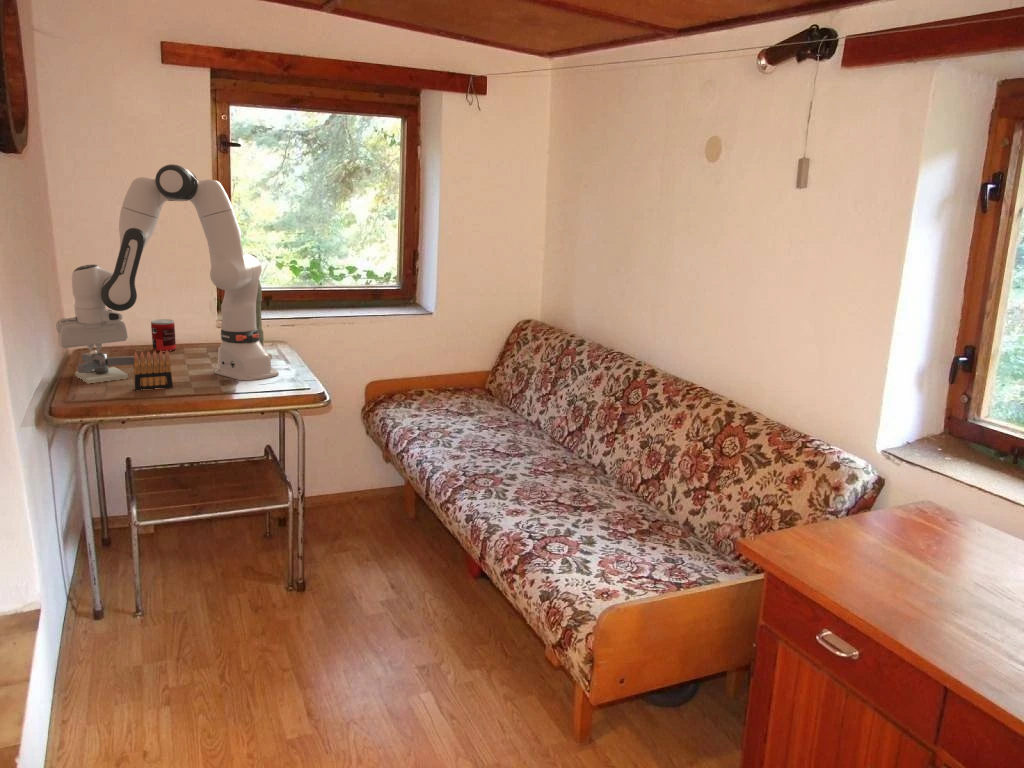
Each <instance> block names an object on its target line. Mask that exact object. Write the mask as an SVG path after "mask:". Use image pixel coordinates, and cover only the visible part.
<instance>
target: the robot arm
mask: <svg viewBox="0 0 1024 768" xmlns="http://www.w3.org/2000/svg"><path fill="white" fill-rule="evenodd" d="M187 201H189V202H191V203H192V205H193V206H194V208H195V210H196V212H197V216H198V218H199V222H200V224H201V227H202V230H203V232H204V236H205V238H206V241H207V246H208V253H209V260H210V264H211V265H210V273H209V277H210V280H211V282H212V284H213V285H214V286H215V287H216V288H218V289H220V290H223V291H224V296H223V300H222V303H221V306H220V310H221V312H220V313H221V330H220V340H221V344H220V346H218V348H217V368H215V369H214V370H213V372H214V374H217V375H220V376H224V377H228V378H230V379H231V378H232V379H235V380H237V381H238V380H239V381H253V380H262V379H267V378H268V379H269V378H273V377H275V376H278V375H280V373H279V371H278V370H277V369H276V368H274V367H273V366H272V362H271V361H272V359H273V358H272V353H271V352H269V353H268V352H267V350H266V348H265V346H264V345H263V346H262V344H261V343H260V341H259V340H260V336H259V335H260V334H259V332H258V329H257V328H256V299H257V292H258V284H259V280H260V276H261V274H262V270H263V269H262V265H261V262H260V260H259V259H258V257H257V256H256V257H257V258H256V257H254V256H255V255H254V256H252V255H253V254H252V255H250V254H249V253H245V252H243V249H242V248H243V247H242V246H243V245H242V230H241V228H240V225H239V223H238V219H237V217H236V213H235V211H234V208H233V205H232V202H231V200H230V197H229V196H228V194H227V191H226V190H225V188H224V186H223V185H222V184H221V182H220V181H218V180H215V179H204V180H198V178H197V177H196V175H195V174H194V173H193V172H192V171H191V170H189V169H188V168H186V167H184V166H183V165H177V164H167V165H164V166H162V167H160V169H158V170H157V172H156V174H155V178H149V177H146V176H145V177H144V176H143V177H137V178H135V179H133V180H132V181H131V183H130V185H129V188H128V189H127V191H126V194H125V196H124V199H123V201H122V205H121V209H120V213H119V221H118V232H119V251H118V256H117V259H116V261H115V262H116V263H115V267H114V270H113V272H112V271H109V270H107V269H105V268H102V267H101V266H99V265H98V264H85V265H82V266H81V265H80V266H79V267H76V268H75V269H74V270H73V271H72V275H71V288H72V296H73V298H74V315H75V317H69V318H61V319H60V320H58V321H57V322H56V325H55V327H56V331H57V333H58V334H57V342H58V345H59V346H60V348H62V349H68V348H69V349H70V348H77V347H85V346H86V347H87V349H88V350H89V352H90V351H91V350H93V349H94V348H95V347H96V348H95V350H96V351H97V353H101V349H102V348H103V344H112V343H118V342H125V341H127V339H128V335H129V334H128V330H127V326H126V323H125V322H124V320H122V319H123V314H122V313H121V312H123V311H127V310H129V309H131V308H132V307H133V306H134V305H135V304H136V302H137V299H138V298H137V296H138V295H137V294H138V293H137V288H136V277H137V273H138V269H139V264H140V261H141V258H142V256H143V255H142V254H143V252H144V250H145V248H146V246H147V244H148V243H149V241H150V240H151V237H152V236H153V234H154V231H155V230H156V227H157V224H158V222H159V218H160V214H161V212H162V211H161V210H162V208H163V205H164V204H165V203H166V202H187ZM106 308H107V309H106Z"/></svg>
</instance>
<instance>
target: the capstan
mask: <svg viewBox="0 0 1024 768" xmlns="http://www.w3.org/2000/svg"><path fill="white" fill-rule="evenodd" d="M92 349H93V350H91V351H90V350H89V352H83V353H81V358H82V363H80V364H78V365H77V372H78V373H85V372H88V371H91V370H94V372H95V373H97V374H103V373H108V368H109V367H114V366H128V365H129V366H130V365H133V366H134V355H130V356H129V355H126V356H108V353H107V352H99V353H97V351H96V348H95V349H94V348H92Z"/></svg>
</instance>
